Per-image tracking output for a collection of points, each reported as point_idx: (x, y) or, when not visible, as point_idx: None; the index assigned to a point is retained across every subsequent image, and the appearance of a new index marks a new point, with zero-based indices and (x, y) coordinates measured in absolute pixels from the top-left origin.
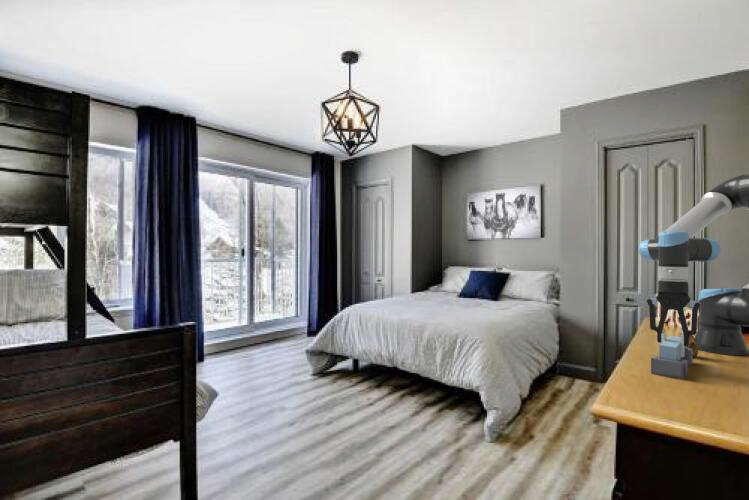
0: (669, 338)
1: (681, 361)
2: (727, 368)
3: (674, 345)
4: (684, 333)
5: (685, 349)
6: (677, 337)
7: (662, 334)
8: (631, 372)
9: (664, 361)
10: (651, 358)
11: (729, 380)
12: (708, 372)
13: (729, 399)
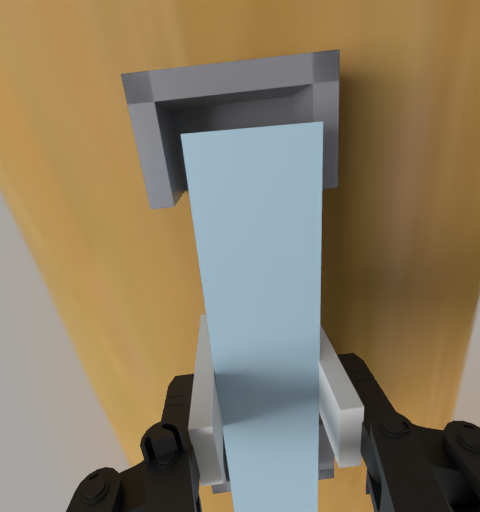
0: (224, 309)
1: None
2: (468, 67)
3: (302, 507)
4: (377, 486)
5: (290, 88)
6: (263, 183)
7: (210, 475)
8: None
9: None
10: (214, 492)
11: (439, 313)
12: (378, 249)
13: None
